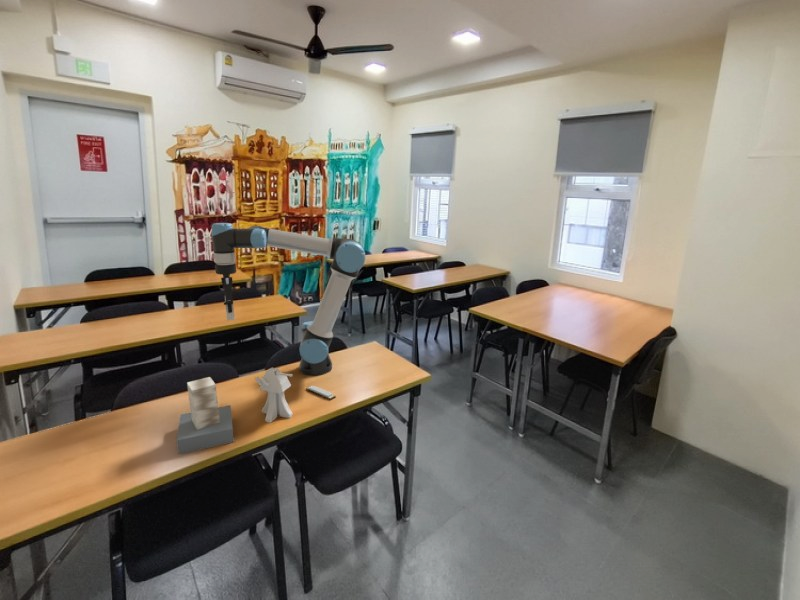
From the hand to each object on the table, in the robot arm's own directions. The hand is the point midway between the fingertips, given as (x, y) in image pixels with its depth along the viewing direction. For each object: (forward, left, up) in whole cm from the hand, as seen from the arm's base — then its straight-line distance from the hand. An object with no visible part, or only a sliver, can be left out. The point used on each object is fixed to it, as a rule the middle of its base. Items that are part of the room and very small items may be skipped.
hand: (230, 315), depth 158 cm
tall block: (+11, +33, -27) cm, 44 cm away
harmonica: (-31, +20, -32) cm, 49 cm away
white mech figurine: (-13, +29, -32) cm, 45 cm away
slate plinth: (+11, +33, -32) cm, 47 cm away
